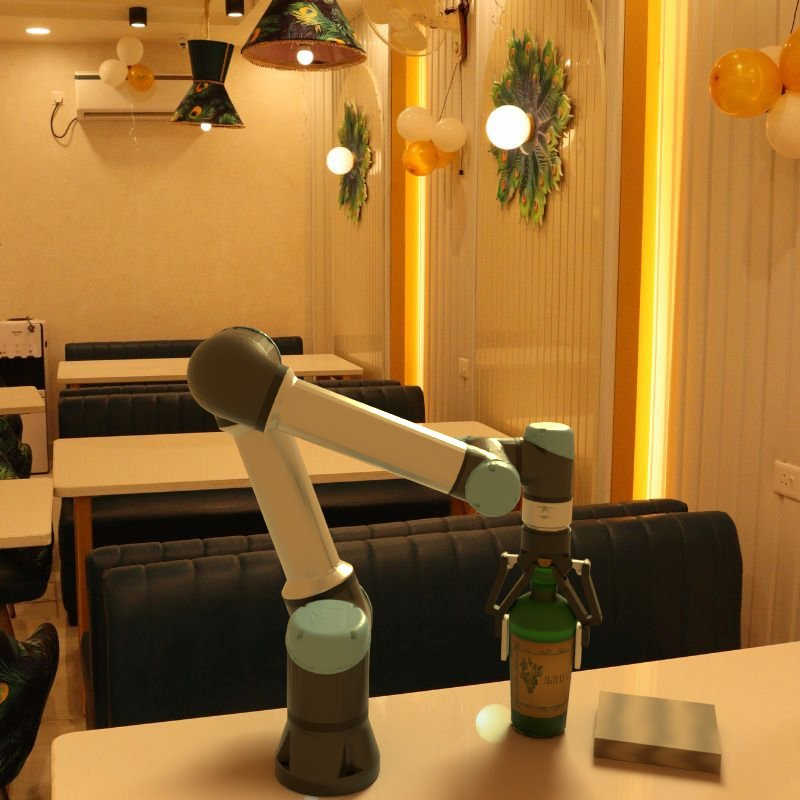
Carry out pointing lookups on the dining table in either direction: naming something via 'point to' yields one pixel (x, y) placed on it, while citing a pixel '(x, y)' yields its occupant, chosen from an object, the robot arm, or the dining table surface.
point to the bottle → (541, 656)
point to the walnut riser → (657, 732)
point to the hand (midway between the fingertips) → (540, 661)
